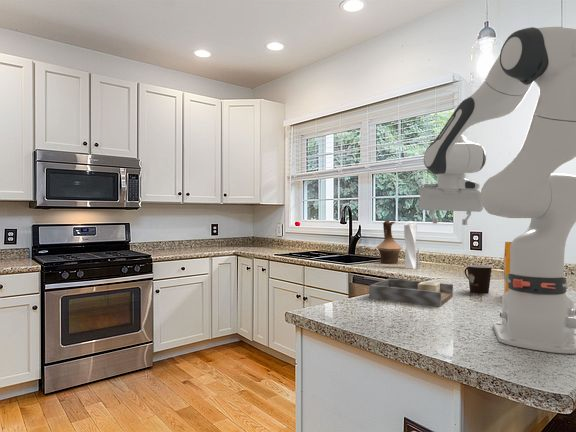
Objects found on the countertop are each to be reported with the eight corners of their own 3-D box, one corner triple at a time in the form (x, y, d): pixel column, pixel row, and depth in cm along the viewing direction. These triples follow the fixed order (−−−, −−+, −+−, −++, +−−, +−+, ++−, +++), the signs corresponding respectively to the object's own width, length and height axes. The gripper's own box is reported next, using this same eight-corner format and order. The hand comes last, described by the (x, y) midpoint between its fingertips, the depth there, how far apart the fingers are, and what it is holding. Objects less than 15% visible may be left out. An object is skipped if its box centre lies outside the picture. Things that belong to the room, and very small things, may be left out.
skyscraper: (416, 270, 216) (416, 220, 217) (402, 269, 221) (402, 220, 221) (420, 268, 224) (420, 220, 224) (406, 267, 228) (406, 220, 228)
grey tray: (452, 296, 138) (452, 284, 139) (440, 306, 122) (440, 292, 122) (388, 289, 152) (388, 278, 152) (369, 298, 135) (369, 285, 135)
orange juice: (535, 301, 131) (535, 243, 131) (506, 299, 135) (505, 242, 135) (531, 297, 138) (531, 241, 138) (503, 295, 142) (503, 241, 142)
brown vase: (371, 262, 257) (371, 220, 257) (395, 261, 260) (395, 220, 260) (382, 264, 240) (382, 220, 240) (407, 264, 243) (407, 220, 243)
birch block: (439, 294, 134) (439, 283, 134) (435, 297, 129) (435, 285, 129) (422, 292, 138) (422, 281, 138) (417, 295, 133) (417, 283, 133)
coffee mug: (495, 294, 143) (495, 267, 143) (470, 293, 144) (470, 267, 144) (485, 289, 154) (485, 264, 154) (462, 288, 156) (462, 263, 156)
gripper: (418, 183, 133) (416, 223, 134) (484, 183, 124) (482, 226, 125) (420, 183, 138) (418, 221, 139) (483, 184, 130) (481, 224, 131)
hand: (449, 224), depth 132 cm, fingers open, 8 cm apart
